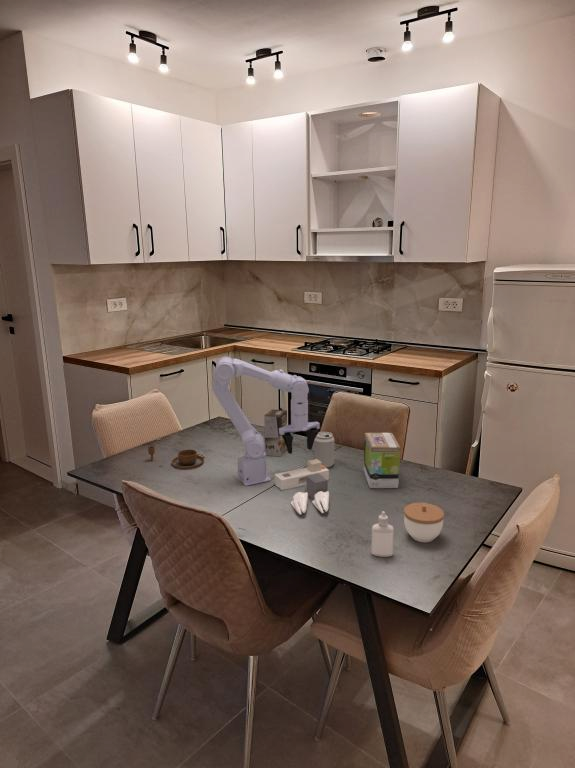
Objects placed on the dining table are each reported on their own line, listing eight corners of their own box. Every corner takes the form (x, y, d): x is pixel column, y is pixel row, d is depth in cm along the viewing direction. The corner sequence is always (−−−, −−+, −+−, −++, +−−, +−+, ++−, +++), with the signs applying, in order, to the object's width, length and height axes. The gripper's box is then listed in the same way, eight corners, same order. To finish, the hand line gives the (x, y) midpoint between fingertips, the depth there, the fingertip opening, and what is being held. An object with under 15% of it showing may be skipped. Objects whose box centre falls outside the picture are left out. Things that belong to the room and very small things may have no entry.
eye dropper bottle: (387, 560, 142) (389, 518, 139) (368, 553, 145) (369, 512, 142) (395, 553, 145) (397, 511, 142) (376, 546, 149) (377, 505, 146)
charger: (315, 501, 175) (315, 482, 173) (302, 491, 182) (302, 472, 181) (327, 499, 177) (327, 480, 175) (314, 488, 184) (314, 470, 183)
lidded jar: (420, 523, 161) (421, 493, 158) (450, 538, 152) (452, 507, 150) (394, 535, 155) (395, 504, 152) (425, 551, 146) (426, 519, 144)
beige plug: (312, 472, 188) (312, 464, 187) (307, 468, 191) (307, 460, 191) (321, 470, 190) (321, 462, 189) (316, 466, 193) (316, 458, 192)
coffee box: (280, 457, 212) (279, 417, 208) (264, 455, 214) (263, 415, 210) (287, 448, 220) (287, 410, 216) (272, 447, 222) (271, 408, 218)
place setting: (178, 476, 197) (177, 461, 195) (145, 462, 209) (144, 447, 208) (215, 462, 209) (215, 447, 208) (182, 449, 222) (181, 435, 221)
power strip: (281, 490, 183) (281, 478, 182) (274, 484, 188) (274, 472, 187) (328, 479, 191) (329, 468, 190) (320, 474, 196) (321, 462, 195)
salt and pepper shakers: (291, 501, 176) (288, 519, 165) (291, 489, 175) (288, 506, 164) (329, 502, 175) (329, 520, 164) (329, 490, 174) (329, 507, 163)
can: (334, 469, 200) (335, 437, 197) (313, 469, 200) (313, 437, 197) (333, 461, 207) (333, 430, 204) (313, 461, 207) (313, 430, 204)
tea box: (399, 488, 184) (401, 446, 180) (369, 489, 184) (370, 447, 180) (390, 470, 198) (392, 431, 194) (362, 470, 198) (363, 431, 194)
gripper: (285, 419, 181) (285, 458, 184) (324, 413, 187) (323, 451, 190) (276, 413, 187) (276, 451, 190) (313, 407, 193) (314, 444, 196)
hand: (299, 450), depth 190 cm, fingers open, 7 cm apart
